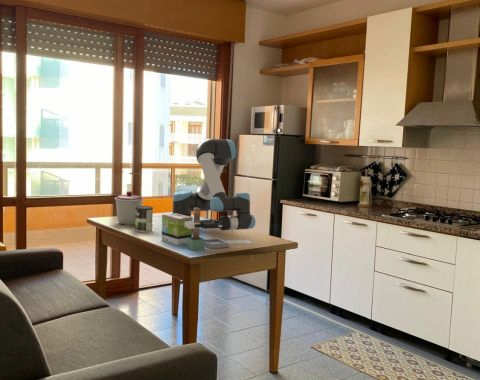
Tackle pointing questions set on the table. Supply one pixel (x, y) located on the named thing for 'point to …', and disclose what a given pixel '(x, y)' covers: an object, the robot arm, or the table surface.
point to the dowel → (196, 220)
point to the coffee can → (143, 218)
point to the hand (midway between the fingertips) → (186, 225)
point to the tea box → (175, 228)
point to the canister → (127, 207)
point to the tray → (215, 243)
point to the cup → (195, 243)
